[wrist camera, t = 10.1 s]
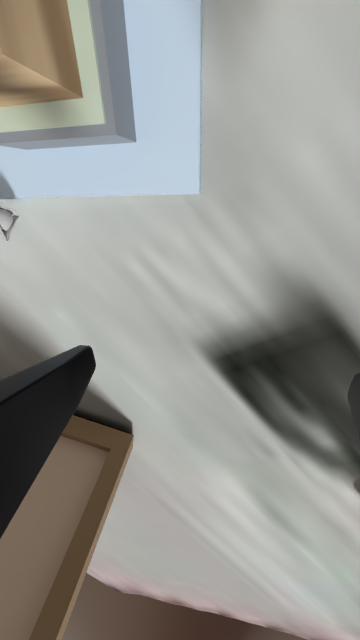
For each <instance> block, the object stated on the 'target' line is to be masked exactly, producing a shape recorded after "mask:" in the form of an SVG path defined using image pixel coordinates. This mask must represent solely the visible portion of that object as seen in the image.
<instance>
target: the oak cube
mask: <svg viewBox="0 0 360 640" xmlns="http://www.w3.org/2000/svg"><path fill="white" fill-rule="evenodd" d="M78 98H83V93H82V87H81V81H80V75H79V69H78V63H77V57H76V51H75V45H74V39H73V34H72V28H71V22H70V16H69V10H68V4H67V0H0V107H8V106H17V105H26V104H34V103H43V102H52V101H60V100H69V99H78Z"/></svg>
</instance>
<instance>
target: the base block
mask: <svg viewBox="0 0 360 640" xmlns="http://www.w3.org/2000/svg"><path fill="white" fill-rule="evenodd" d="M67 4H68V10H69V16H70V22H71V28H72V34H73V39H74V45H75V51H76V57H77V63H78V69H79V75H80V81H81V87H82V93H83V98H78V99H69V100H60V101H52V102H43V103H34V104H26V105H17V106H8V107H0V146H5V147H12V148H19V149H25V150H31V149H46V148H61V147H76V146H90V145H105V144H120V143H135V142H136V131H135V121H134V110H133V99H132V88H131V77H130V67H129V56H128V45H127V34H126V23H125V13H124V2H123V0H67Z"/></svg>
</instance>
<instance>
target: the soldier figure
mask: <svg viewBox="0 0 360 640" xmlns="http://www.w3.org/2000/svg"><path fill="white" fill-rule="evenodd" d="M18 217H19V215H18V214H17V213H16V212H15V211H14V210H13V209H8V208H3V207H1V206H0V234H1V235H2V236H3V237H4V239H5V240H6V241H8V240H9V238H10V233H11V231H12V229H13V226H14V224H15V222H16V220H17V219H18Z"/></svg>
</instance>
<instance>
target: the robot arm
mask: <svg viewBox="0 0 360 640" xmlns="http://www.w3.org/2000/svg"><path fill="white" fill-rule="evenodd" d="M95 367H96V363H95V358H94V354H93V350H92V348H91V347H90V346H85V345H79V346H77V347H75V348H72V349H70V350H68V351H66V352H63V353H61V354H59V355H57V356H55V357H52V358H50V359H48V360H46V361H43V362H41V363H39V364H37V365H34V366H32V367H30V368H28V369H25V370H23V371H21V372H19V373H17V374H14V375H12V376H10V377H8V378H5V379H3V380H1V381H0V539H1V537H2V535H3V534H4V532H5V530H6V529H7V527H8V525H9V523H10V522H11V520H12V518H13V517H14V515H15V513H16V511H17V510H18V508H19V506H20V505H21V503H22V501H23V499H24V498H25V496H26V494H27V493H28V491H29V489H30V488H31V486H32V484H33V482H34V481H35V479H36V477H37V476H38V474H39V472H40V470H41V469H42V467H43V465H44V464H45V462H46V460H47V458H48V457H49V455H50V453H51V452H52V450H53V448H54V446H55V445H56V443H57V441H58V440H59V438H60V436H61V435H62V433H63V431H64V429H65V428H66V426H67V424H68V423H69V421H70V419H71V417H72V416H73V414H74V412H75V411H76V409H77V407H78V405H79V403H80V401H81V399H82V397H83V395H84V393H85V390H86V388H87V386H88V384H89V382H90V379H91V377H92V375H93V373H94V371H95ZM348 401H349V405H350V409H351V412H352V416H353V420H354V424H355V427H356V431H357V435H358V438H359V442H360V373H357V374H356V375H355V376H354V378H353V381H352V383H351V386H350V388H349V391H348Z"/></svg>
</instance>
